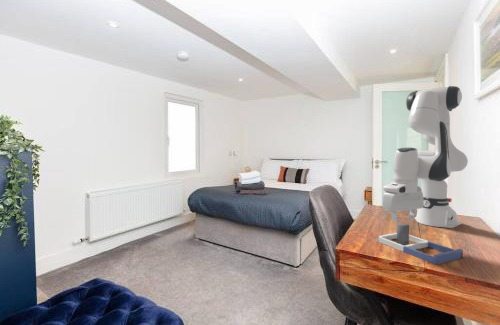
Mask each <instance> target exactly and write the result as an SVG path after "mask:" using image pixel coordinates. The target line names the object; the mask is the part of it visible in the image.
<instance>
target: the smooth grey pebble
mask: <svg viewBox="0 0 500 325" xmlns="http://www.w3.org/2000/svg"><path fill="white" fill-rule="evenodd" d="M396 233H397V238H396V239H395V240H396V241H395V242H396V243H398V244H401V245H404V246H405V245H409V244H410V240H409V235H410V225H409V224H408V223H403V222H399V223H396Z"/></svg>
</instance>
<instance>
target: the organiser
mask: <svg viewBox="0 0 500 325" xmlns="http://www.w3.org/2000/svg"><path fill="white" fill-rule="evenodd" d="M393 240H397V232H394V233H389V234H383V235H377V236H376V242H379V243H381V244H383V245H386V246H389V247H391V248H393V249H396V250H398V251H400V252H403V253H406V254H408V255H412V256H413V257H416V258H418V259H420V260H422V261H423V260H424V261H425V262H428V263H431V264H433V265H441V264H445V263H448V262H452V261H455V260H458V259H463V256H464V249H462V248H457V249H455V248H451V247H448V246H445V245H442V244H440V243H435V242H432V241H429V240H426V239H423V238H421V237H418V236H414V235H411V234H409V242H410V241H411V242H413V243H411V244H410V243H409V245H405V246H404V245H401V244H398V243H396V241H393ZM424 248H431V249H434V250H436V251H439V252H441V253H437V254H434V255H430V254H427V253H425V252H423V251H419V250H420V249H424Z"/></svg>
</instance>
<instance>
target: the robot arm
mask: <svg viewBox="0 0 500 325" xmlns="http://www.w3.org/2000/svg"><path fill="white" fill-rule="evenodd" d="M462 99H463V94H462V91H461V88H460V87H459V86H453V85H451V86H450V85H449V86H439V87H437V86H436V87H432V88H427V89H426V88H425V89H423V90H415V91H412V92H410V93H409V94H407V96H406V101H405V103H406V105H405V106H406V109H407V110H408V111H409V115H408V125H409V127H410V128H411V129H412V130H413V131H415V132H416V133H419V134H421V135H422V139H423V140H424V141H425V142H426V143H428V144H431V145H432V146H435V147H434V148H435V149H434V150H429V149H428V150H426V149H423V150H418V149H417V148H415V147H401V148H398V149H396V150H395V153H394V157H393V167H392V170H393V176H392V181H390V182H389V183H388V184H385V185H384V186H383V191H384V193H383V197H382V209H383V210H384V211H386V212H389V213H390V216H391V217H392V218H391V220H392V222H395V223H397V222H399V217H398V215H397V214H398V212H401V211H409V214H407V220H411V221H412V220H414V219H415V221H416V222H417V223H418V224H421V225H426V226H430V227H431V226H432V227H438V228H446V229H447V228H448V229H454V228H455V227H458V226H460V225H463V222H462V221H461V220H458V219H457V212H456V211H455V210H454V209H453V208H452V207H451V206H450V203H452V198H449V197H448V184H447V182H446V181H445V180H446V179H448V178H449V177H450V176H451V173H452V172H453V173H454V172H461V171H464V169H465V168H466V167H467V166H468V162H469V161H468V157H467V155H466V153H465V152H463V151H461V150H460V149H459V148H457V147H456V146H455V145H454V143H453V141H452V139H451V131H450V130H451V128H450V125H451V124H450V123H451V116H450V112H452V111H453V110H454V109H456V108H457V107H458V106H460V103H461V102H462ZM419 180H420V185H421V186H418V183H419V182H418V181H419Z"/></svg>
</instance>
